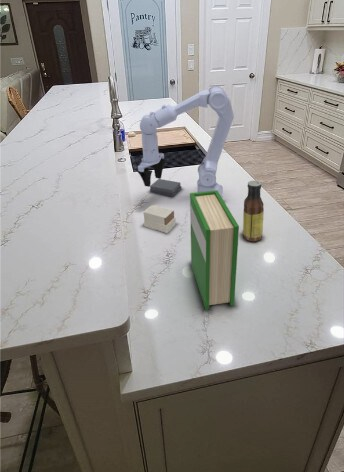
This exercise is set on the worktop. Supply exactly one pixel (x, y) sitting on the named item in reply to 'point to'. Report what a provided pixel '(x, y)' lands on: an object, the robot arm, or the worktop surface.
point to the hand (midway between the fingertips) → (152, 181)
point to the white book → (159, 214)
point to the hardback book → (213, 247)
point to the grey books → (165, 187)
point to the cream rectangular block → (160, 225)
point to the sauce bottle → (253, 213)
